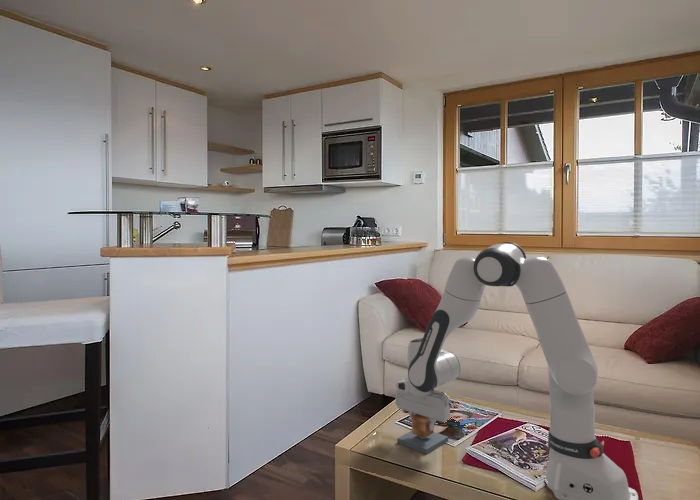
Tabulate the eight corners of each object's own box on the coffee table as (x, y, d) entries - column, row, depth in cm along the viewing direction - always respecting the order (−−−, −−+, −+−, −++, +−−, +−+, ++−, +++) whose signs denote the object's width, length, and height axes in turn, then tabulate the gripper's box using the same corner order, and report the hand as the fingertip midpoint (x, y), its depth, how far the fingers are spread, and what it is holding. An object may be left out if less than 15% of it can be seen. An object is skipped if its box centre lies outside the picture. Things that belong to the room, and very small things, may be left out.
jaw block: (433, 432, 158) (433, 415, 157) (424, 437, 154) (424, 419, 154) (421, 428, 161) (420, 411, 161) (412, 433, 158) (411, 415, 157)
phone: (435, 414, 179) (476, 417, 174) (435, 416, 179) (476, 420, 174) (432, 422, 171) (475, 426, 167) (432, 425, 171) (475, 429, 167)
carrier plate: (448, 441, 158) (448, 428, 158) (426, 454, 149) (426, 440, 149) (419, 430, 166) (419, 418, 166) (397, 442, 158) (397, 429, 158)
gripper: (453, 390, 152) (454, 432, 152) (403, 377, 166) (404, 416, 167) (442, 396, 147) (443, 439, 148) (392, 382, 162) (393, 421, 163)
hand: (422, 427), depth 158 cm, fingers closed on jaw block, 5 cm apart
